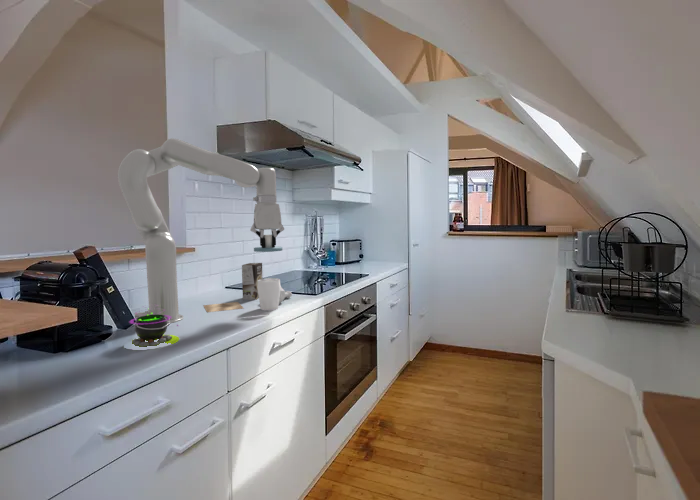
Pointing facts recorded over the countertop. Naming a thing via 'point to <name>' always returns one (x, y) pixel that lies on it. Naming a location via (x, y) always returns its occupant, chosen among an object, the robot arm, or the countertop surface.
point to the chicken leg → (284, 295)
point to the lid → (267, 245)
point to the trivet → (222, 307)
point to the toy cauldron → (152, 330)
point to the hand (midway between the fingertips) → (268, 247)
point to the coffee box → (251, 280)
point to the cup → (269, 293)
